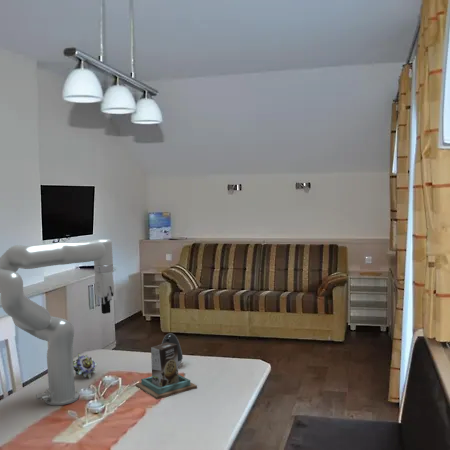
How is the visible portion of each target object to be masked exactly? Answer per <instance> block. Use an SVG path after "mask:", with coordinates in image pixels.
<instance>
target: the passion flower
mask: <svg viewBox="0 0 450 450" xmlns="http://www.w3.org/2000/svg"><path fill="white" fill-rule="evenodd" d="M97 365H98V363H97V362H95V361H94V358H92V357H91V356H90V357H89V356H88V354H85V355H81V353H77V359H76V360H73V367H74V373H75V374H76V376H80V375H81V376H82V378H84V379H85V378H88V379H89V378H90V379H91V378H92V373H93V374H96V373H97V371H96V370H95V369H96V367H97Z"/></svg>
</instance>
